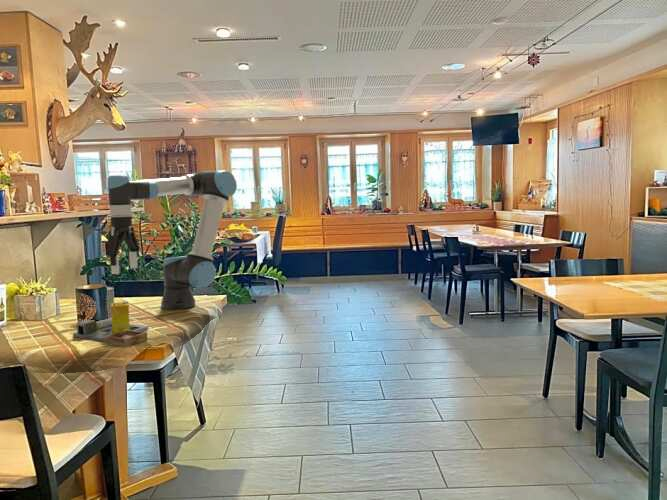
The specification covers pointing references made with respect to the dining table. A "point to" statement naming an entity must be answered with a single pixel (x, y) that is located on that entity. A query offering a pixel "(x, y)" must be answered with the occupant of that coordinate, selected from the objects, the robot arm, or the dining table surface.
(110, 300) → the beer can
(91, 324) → the socket block
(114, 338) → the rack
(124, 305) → the supplement box
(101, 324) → the drift key
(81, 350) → the dining table surface
